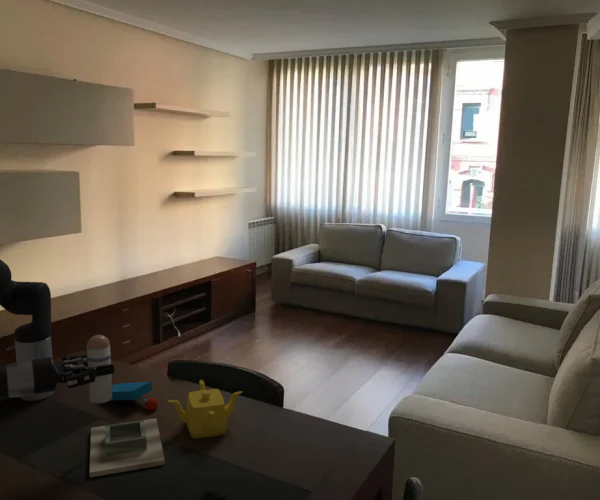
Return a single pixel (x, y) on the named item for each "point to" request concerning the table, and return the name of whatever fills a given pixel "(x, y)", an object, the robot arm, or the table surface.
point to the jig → (125, 447)
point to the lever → (134, 393)
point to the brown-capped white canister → (97, 357)
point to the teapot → (206, 412)
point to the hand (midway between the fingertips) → (111, 364)
